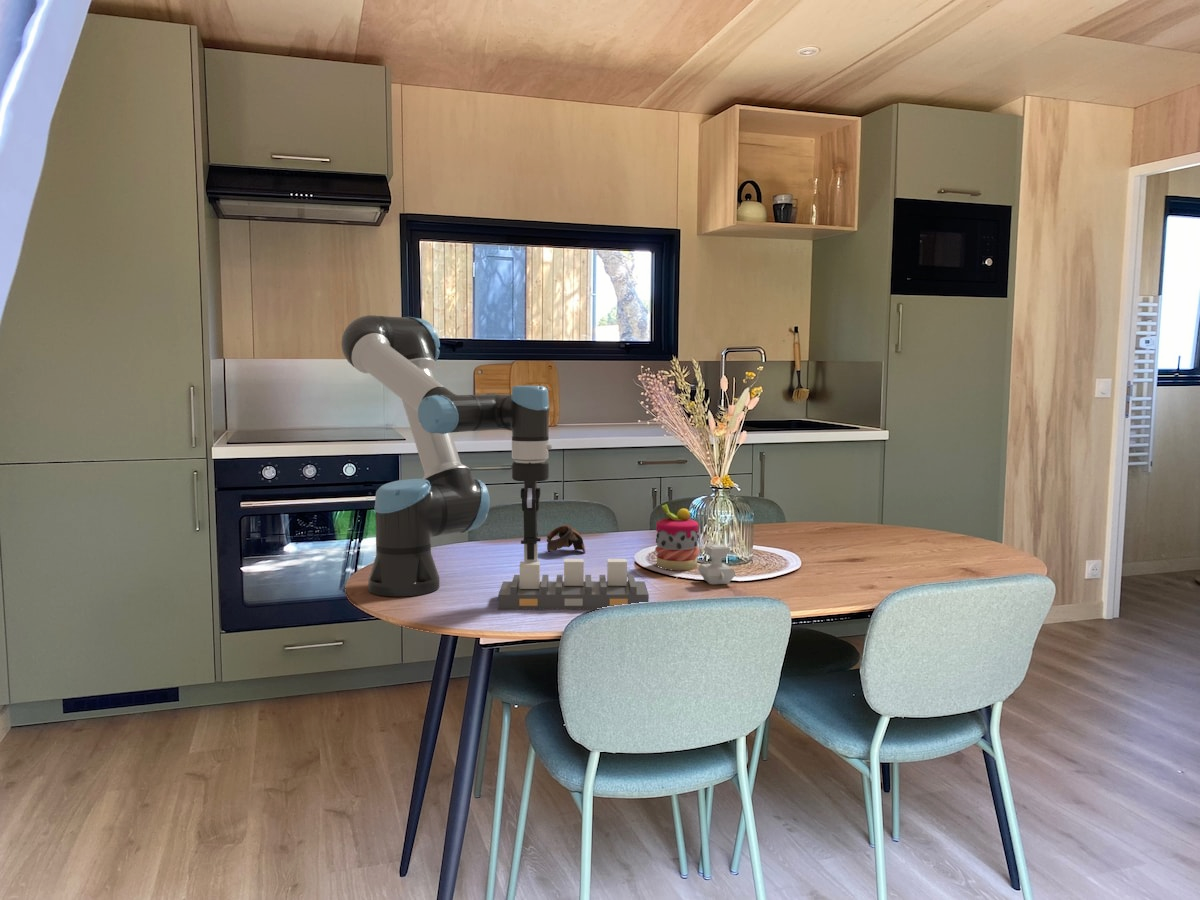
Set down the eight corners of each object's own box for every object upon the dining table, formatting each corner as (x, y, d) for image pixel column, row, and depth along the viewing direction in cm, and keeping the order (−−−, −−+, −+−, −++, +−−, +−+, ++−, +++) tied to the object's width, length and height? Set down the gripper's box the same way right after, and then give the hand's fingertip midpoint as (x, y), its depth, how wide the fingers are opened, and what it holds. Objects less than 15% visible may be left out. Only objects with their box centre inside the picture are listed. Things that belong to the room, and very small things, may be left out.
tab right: (607, 585, 184) (607, 561, 184) (607, 582, 187) (607, 558, 187) (626, 585, 184) (627, 561, 184) (626, 582, 187) (626, 558, 187)
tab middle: (564, 585, 184) (564, 561, 184) (564, 582, 187) (564, 558, 187) (583, 585, 184) (583, 561, 184) (583, 582, 187) (583, 558, 187)
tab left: (519, 588, 181) (519, 564, 181) (520, 585, 184) (520, 561, 184) (539, 588, 181) (539, 564, 181) (540, 585, 184) (539, 561, 184)
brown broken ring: (590, 557, 229) (576, 532, 226) (557, 573, 229) (543, 548, 226) (584, 537, 240) (571, 512, 237) (553, 552, 240) (539, 528, 237)
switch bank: (498, 609, 177) (498, 587, 177) (503, 595, 189) (502, 574, 188) (648, 609, 178) (648, 587, 178) (644, 595, 189) (644, 574, 189)
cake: (695, 561, 223) (696, 502, 221) (701, 571, 212) (702, 508, 211) (653, 561, 223) (654, 502, 221) (657, 571, 212) (658, 508, 211)
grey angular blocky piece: (695, 579, 204) (696, 542, 204) (723, 577, 206) (723, 541, 205) (708, 588, 196) (709, 550, 195) (737, 587, 197) (738, 549, 196)
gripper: (547, 464, 176) (548, 581, 179) (549, 457, 189) (549, 566, 191) (509, 464, 176) (510, 581, 178) (514, 457, 189) (514, 567, 191)
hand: (530, 573), depth 185 cm, fingers closed
